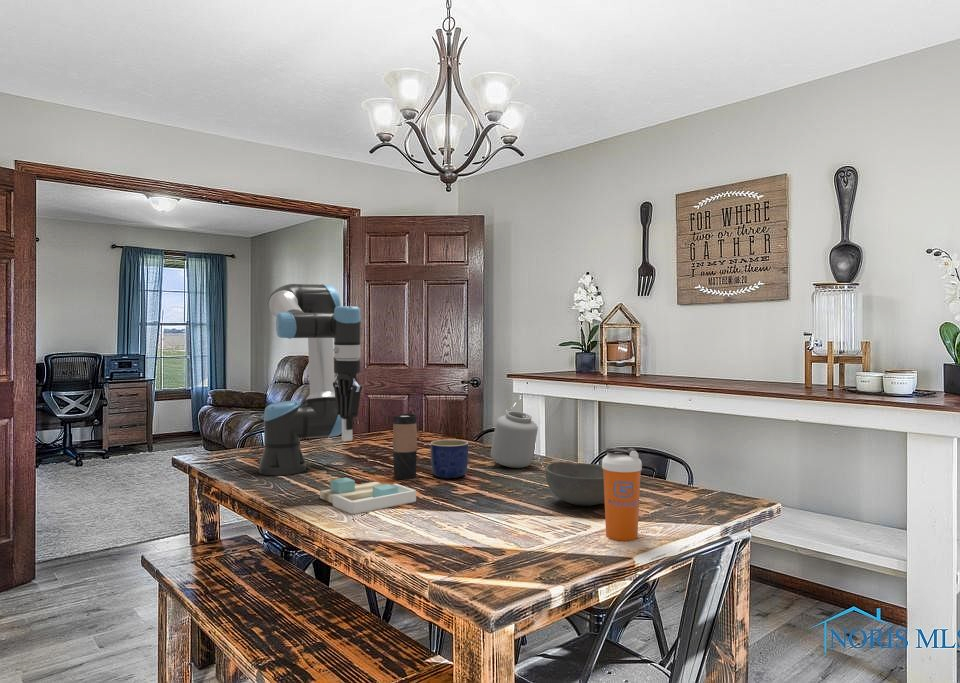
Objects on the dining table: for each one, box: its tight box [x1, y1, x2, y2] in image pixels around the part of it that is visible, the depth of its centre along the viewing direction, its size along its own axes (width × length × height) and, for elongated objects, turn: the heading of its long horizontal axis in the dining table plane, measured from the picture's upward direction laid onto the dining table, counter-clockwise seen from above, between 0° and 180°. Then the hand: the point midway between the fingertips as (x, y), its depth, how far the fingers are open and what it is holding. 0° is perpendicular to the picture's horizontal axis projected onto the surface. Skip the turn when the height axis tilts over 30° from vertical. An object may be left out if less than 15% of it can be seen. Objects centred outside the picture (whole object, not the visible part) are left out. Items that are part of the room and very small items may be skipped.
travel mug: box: [392, 413, 418, 480], centre depth 207 cm, size 8×8×20 cm
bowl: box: [544, 461, 605, 507], centre depth 174 cm, size 20×20×10 cm
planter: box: [430, 439, 469, 479], centre depth 209 cm, size 12×12×11 cm
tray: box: [332, 483, 417, 515], centre depth 175 cm, size 11×20×3 cm, turn 130°
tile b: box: [330, 477, 356, 494], centre depth 181 cm, size 5×5×3 cm
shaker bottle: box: [601, 447, 643, 542], centre depth 146 cm, size 9×9×20 cm
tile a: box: [373, 483, 398, 498], centre depth 179 cm, size 5×5×3 cm
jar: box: [490, 395, 544, 469], centre depth 224 cm, size 19×15×25 cm
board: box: [319, 481, 386, 504], centre depth 183 cm, size 10×18×2 cm, turn 130°
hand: (347, 440), depth 186 cm, fingers closed
